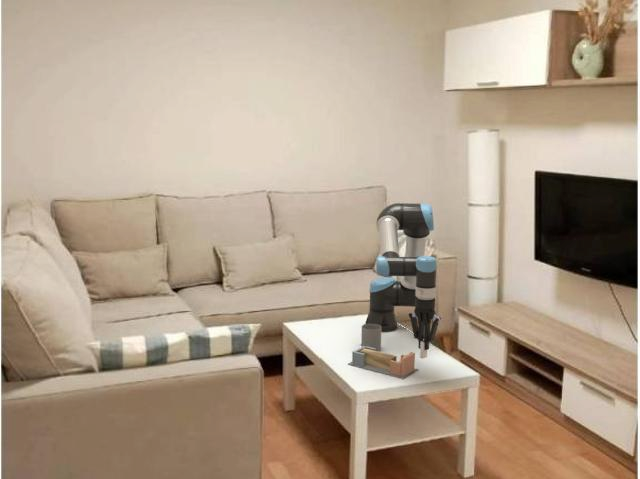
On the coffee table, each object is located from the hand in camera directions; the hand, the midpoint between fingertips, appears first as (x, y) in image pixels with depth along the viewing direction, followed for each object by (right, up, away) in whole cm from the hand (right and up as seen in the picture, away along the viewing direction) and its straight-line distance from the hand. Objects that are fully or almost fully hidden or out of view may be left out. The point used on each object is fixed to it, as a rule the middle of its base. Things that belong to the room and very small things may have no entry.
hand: (423, 357), depth 283 cm
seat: (-14, -6, +12) cm, 20 cm away
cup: (-18, -2, +35) cm, 39 cm away
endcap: (-7, -7, +7) cm, 12 cm away
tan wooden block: (-16, -5, +14) cm, 22 cm away
